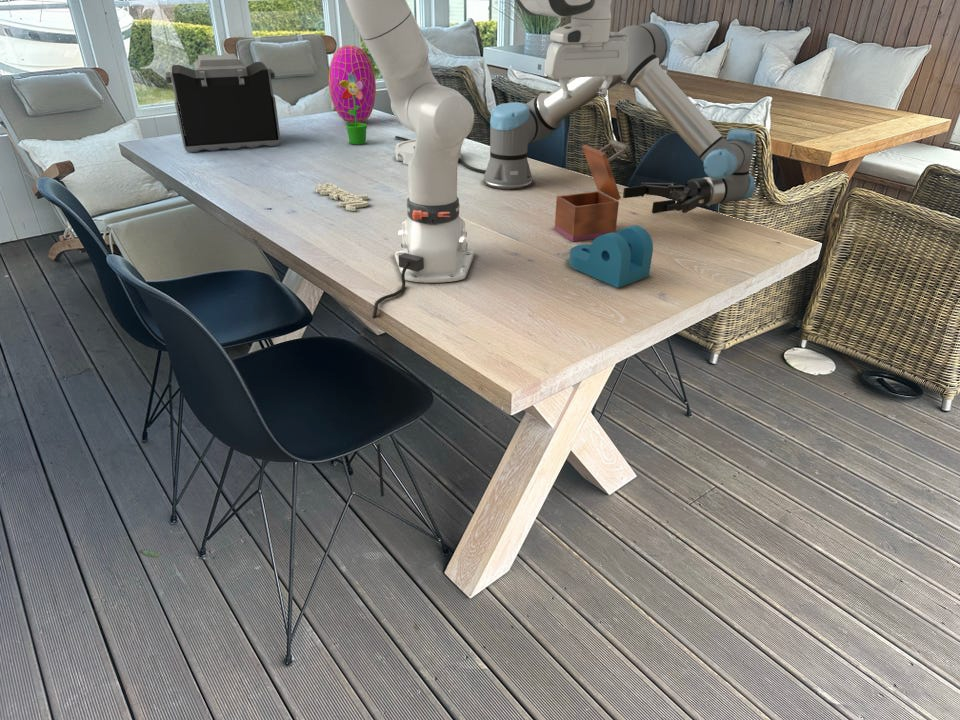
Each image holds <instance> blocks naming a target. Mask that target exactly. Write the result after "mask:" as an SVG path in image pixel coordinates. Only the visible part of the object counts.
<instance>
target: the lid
mask: <svg viewBox="0 0 960 720" xmlns="http://www.w3.org/2000/svg"><path fill="white" fill-rule="evenodd" d="M611 147H612V148H615V149H616V150H619V151H618V152H616V153H614V154H613V155H611V156H610V157H608V156H607V153H605V151H606V150H608V149H609V148H611ZM581 148H582V151H583V154H584V156H585V159H586V162H587V165H588V167H589V168H588V169H589V171H590V173H591V176H592V178H593V179H592V180H593V181H594V185H595V187H596V189H597V190H596V191H600V192H602V193H603V194H605V195H607V196H609V197H611V198H613V199H615V200H617V201H619V200H621V199H622V197H621V195H620V191H619V188H618V186H617V183H616V180H615V177H614V173H613V171H612V168H611V165H610V162H612V161H613V160H615V159H617V158H618V157H620V156H621V155H623V154H625V153H626V154H627V153H630V151H631V146H630V145H628V144H626V143H623V142H620V141H619V140H615V139H614V138H613V139H610V140H609V142H608V144H606V145H605V146H603V147H601V148H600V149H597V148H595V147H592V146H590V145H587V144H584V145H582V146H581Z"/></svg>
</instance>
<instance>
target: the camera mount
mask: <svg viewBox="0 0 960 720" xmlns="http://www.w3.org/2000/svg"><path fill="white" fill-rule="evenodd" d="M652 239H653V238H652V237H651V235H650V234H649V232H648V230H646V229H645V228H644V227H643V226H640V225H636V224H635V225H630V226H627V227H624V228H621V229H619V230H617V231H616V233H613V232H612V233H608V234H604V235H601V236H598V237H597V238H593V241H592V243H584V244H578V245H575V246H573V247H571V248H570V250H569V261H568V265H569V266H570V267H571V268H572V269H574V270H576V271H578V272H580V273H582V274H585V275H587V276H589V277H592V278H594V279H596V280H599V281H601V282H603V283H606V284H608V285H610V286H613V287H615V288H616V289H617V288H618V289H620V288H622V287H625V286H627V285H630V284H632V283H635V282H637V281H641V280H642V279H645V278H648V277H650V274H651V273H650V272H651V266H652V259H653V258H652V257H653V252H654V243H653V240H652Z"/></svg>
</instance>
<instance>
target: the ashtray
mask: <svg viewBox="0 0 960 720" xmlns="http://www.w3.org/2000/svg"><path fill="white" fill-rule="evenodd" d="M415 145H416V138H414V139H411V140H407V141H404V140H402V141H399V142H398V143H396V144H395V146H394V150H395V151H394V152H395V153H394V154H395V160H396V161H397V162H403V164H404V165H408V163H409V161H410V160H411V159H412V157H413V154H414V150H415ZM459 158H460V159H462V149H461V150H460V154H459Z"/></svg>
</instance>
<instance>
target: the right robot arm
mask: <svg viewBox="0 0 960 720" xmlns="http://www.w3.org/2000/svg"><path fill="white" fill-rule="evenodd" d="M618 32H624V34H626V35H627V37H628V40H629V41H628V48H627V50H628V66H627V71H626V72H625V74H624V75H615V76H613V79H612V82H611V84H610V85H609V87H608V88H607V91H608V90H610V89H612V88H613V87H614V86H616V85H617V84H620V83H621V82H622V81H624V82H625V83H626V84H627V85H628V86H629V87H630V88H635V89H637V90H638V91H639V92H640V93H641V94H642V96H643V97H644V98H645V99H646V100H647V101H648V102H649V104H650V105H652V107H653V108H654V109H655V110H656V111H657V112H658V113H659V114H660V115H661V117H662V118H663V119H664V120H665V121H666V122H667V123H668V125H669V126H671V128H672V129H673V130H674V131H675V132H676V133H677V134H678V135H679V137H680V138H681V139H682V140H683V142H685V144H686V145H687V146H688V147H689V148H690V149H691V150H692V151H693V152H694V154H695V155H697V157H698V158H699V159H700V160H701V161H702V162H703V166H702V167H703V170H704V173H705V174H706V176H704V177H698V178H691V179H689V180H688V181H687V182H686V184H678V185H677V183H676V182H644V181H643V182H640V185H636V186H628V187H623V194H622V198H623V199H629V198H638V197H643V198H644V197H645V195H647V196H658V197H665V198H666V199H668V200H659V201H653V202H652V206H651V207H652V208H651V209H652V210H651V213H652V214H658V213H659V214H660V213H666V212H674V211H676V212H680V211H681V213H683V214H686V213H688V212H691V211H692V210H694V209H696V208H698V207H703V206H704V207H705V206H707V207H711V205H719V204H723V203H724V204H727V203H736V202H741V201H745V200H747V199H749V198H751V197H752V196H753V195H754V192H755V191H756V184H755V181H756V180H755V177H754V176H753V175H752V173H751V174H750V169H751V165H752V161H753V155H754V150H755V147H756V140H757V133H756V132H755V131H753V130H752V129H751V130H750V129H744V128H735V129H734V128H733V129H730V130H728V132H727V135H726V137H724V136H723V134H721V132H720V131H719V130H718V129H717V128H716V127H715V126H714V125H713V124H712V123H711V121H709V119H708V118H707V117H706V116H705V114H703V113H702V112H701V110H700V109H699V108H698V107H697V106H696V104H694V102H693V101H692V100H691V99H690V98H689V97H688V96H687V95H686V94H685V92H683V91H682V89H681V88H680V87H679V86H678V85H677V83H676V82H675V81H674V80H672V78H671V77H670V76H669V75H668V73H667V72H665V70H664V69H663V68H662V67H661V65H662V64H663V63H664V62H665V61H666V60H667V58H668V56H669V54H670V49H671V38H670V35H669V33H668V31H667V30H666V28H665V27H663V25H661V24H659V23H656V22H652V21H651V22H650V21H649V22H644V23H642V24H641V23H640V24H635V25H634V24H633V25H627V26H625V27H623V28H622V29H620V30H619V31H618ZM623 37H625V36H623ZM603 82H604V80H603V76H597V77H580V78H569V83H566V84H567V86H568V89H569V90H571V91H572V98H571V99H564V98H563V90H562V87H561V85H560V86H558V87H557V88H556V89H554V90H552V91H551V92H550V93H546V92H542V93H539V94H538V95H537V96H535V97H534V98H532V99H530V100H529V101H528V102H527V103H523V102H517V101H514V102H511V101H510V102H507V103H505V102H503V103H500V104H497V105H496V106H495V107H493V108H492V110H491V112H490V120H489V124H490V125H489V126H490V129H489V131H490V135H489V136H490V138H489V139H490V141H489V160H488V163H487V166H486V169H481V168H477V167H474V166H471V165H469V164H468V163H466V161H464V160H463V159H462V158H461V159H460V158H459V159H458V163H461V164H462V165H463V166H464V167H465V168H467V169H469V170H471V171H474V172H478V173H481V174H484V176H483V184H484V185H485V186H487V187H489V188H493V189H497V190H510V191H511V190H521V189H525V188H526V189H527V188H529V187H530V186H532V184H533V175H532V172H531V168H530V164H529V160H528V153H529V152H528V151H529V150H528V149H529V147H528V146H529V144H532V143H536V142H537V141H541V140H542V141H543V140H545V139H547V138H548V137H550V136H551V135H553V133H554V132H555V131H556V130H557V129H559V128H560V127H562V124H563V120H564V119H565V118H567V117H568V116H570V115H571V114H573V113H574V112H576V111H577V110H579V109H581V108H582V107H583V106H585V105H587V104H588V103H590V102H591V101H593V100H595V99H596V98H597V97H599V96H598V88H601V86H602V84H603ZM394 138H395V139H396V140H401V141H407V140H412V139H410V138H406V137H401V136H398V135H395V136H394Z"/></svg>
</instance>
